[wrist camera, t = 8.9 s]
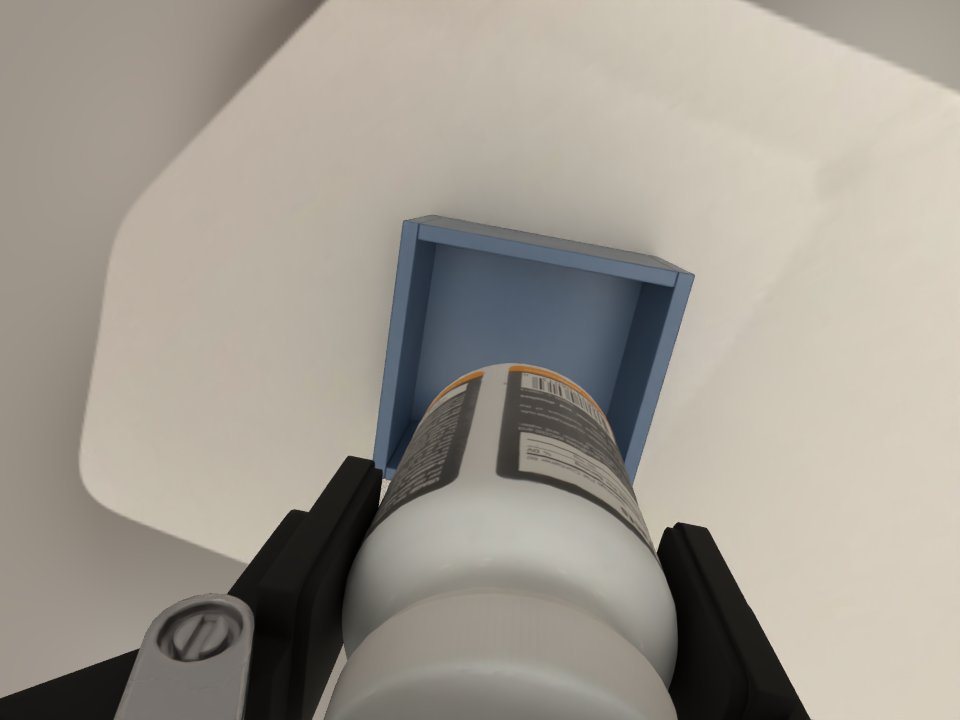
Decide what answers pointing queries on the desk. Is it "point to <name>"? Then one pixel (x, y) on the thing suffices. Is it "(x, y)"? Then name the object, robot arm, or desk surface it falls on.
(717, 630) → the robot arm
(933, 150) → the desk surface
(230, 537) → the desk surface
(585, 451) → the pill bottle
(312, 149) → the desk surface
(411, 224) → the bin
